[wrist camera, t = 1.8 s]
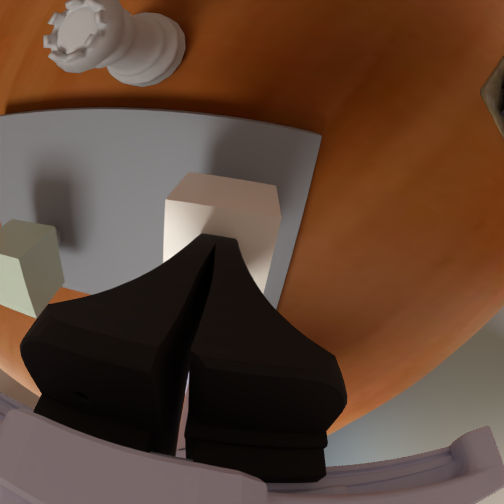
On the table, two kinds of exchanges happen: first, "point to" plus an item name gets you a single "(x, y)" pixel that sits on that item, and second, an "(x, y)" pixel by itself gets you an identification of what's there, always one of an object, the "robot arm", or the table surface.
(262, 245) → the cream matte cube
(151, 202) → the panel
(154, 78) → the rook chess piece
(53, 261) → the pale green cube
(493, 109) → the abalone
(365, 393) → the table surface
